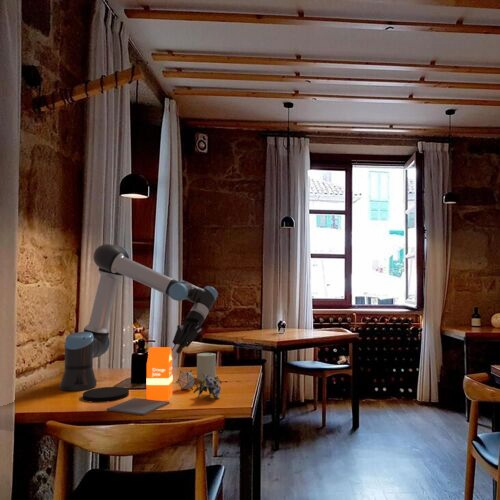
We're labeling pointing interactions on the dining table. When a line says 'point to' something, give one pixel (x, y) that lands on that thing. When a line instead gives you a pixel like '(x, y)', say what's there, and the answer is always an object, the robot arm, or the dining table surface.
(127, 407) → the mat
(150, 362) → the orange juice
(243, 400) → the dining table surface
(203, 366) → the can
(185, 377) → the game die
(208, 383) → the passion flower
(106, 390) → the wireless charger
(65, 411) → the dining table surface
